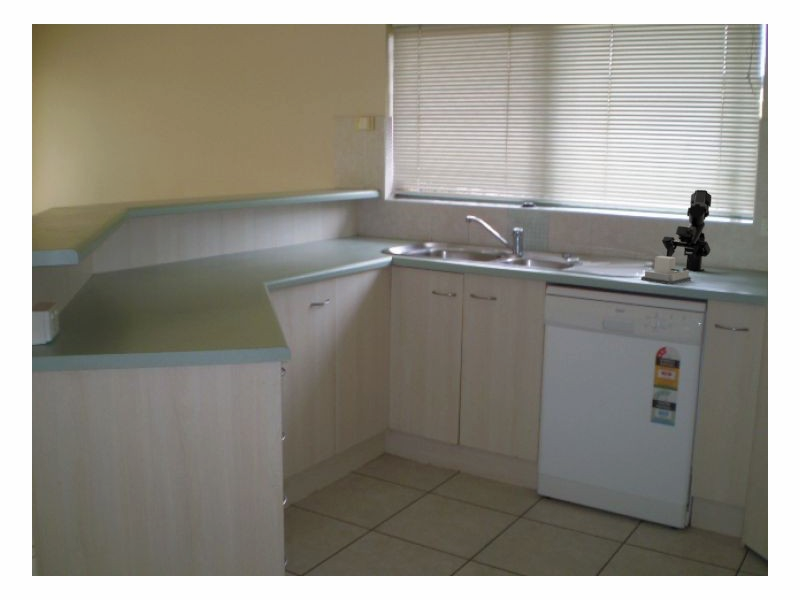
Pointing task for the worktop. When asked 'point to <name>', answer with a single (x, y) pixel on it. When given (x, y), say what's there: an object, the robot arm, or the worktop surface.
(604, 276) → the worktop surface
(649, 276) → the gauge base
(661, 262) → the gauge carriage
